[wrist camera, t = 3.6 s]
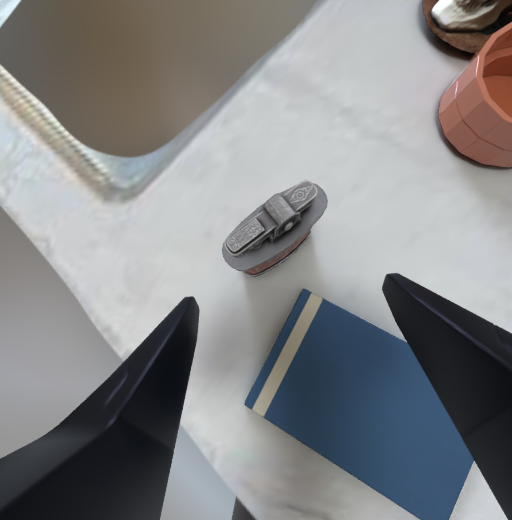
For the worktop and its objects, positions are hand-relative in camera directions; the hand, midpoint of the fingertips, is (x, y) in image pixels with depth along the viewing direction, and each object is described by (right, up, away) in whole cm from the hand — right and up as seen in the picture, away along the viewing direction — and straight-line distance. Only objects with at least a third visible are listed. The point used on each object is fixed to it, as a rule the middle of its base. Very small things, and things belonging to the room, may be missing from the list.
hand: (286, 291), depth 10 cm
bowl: (+22, +16, +11) cm, 29 cm away
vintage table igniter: (+1, +3, +12) cm, 12 cm away
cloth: (+8, -11, +9) cm, 16 cm away
